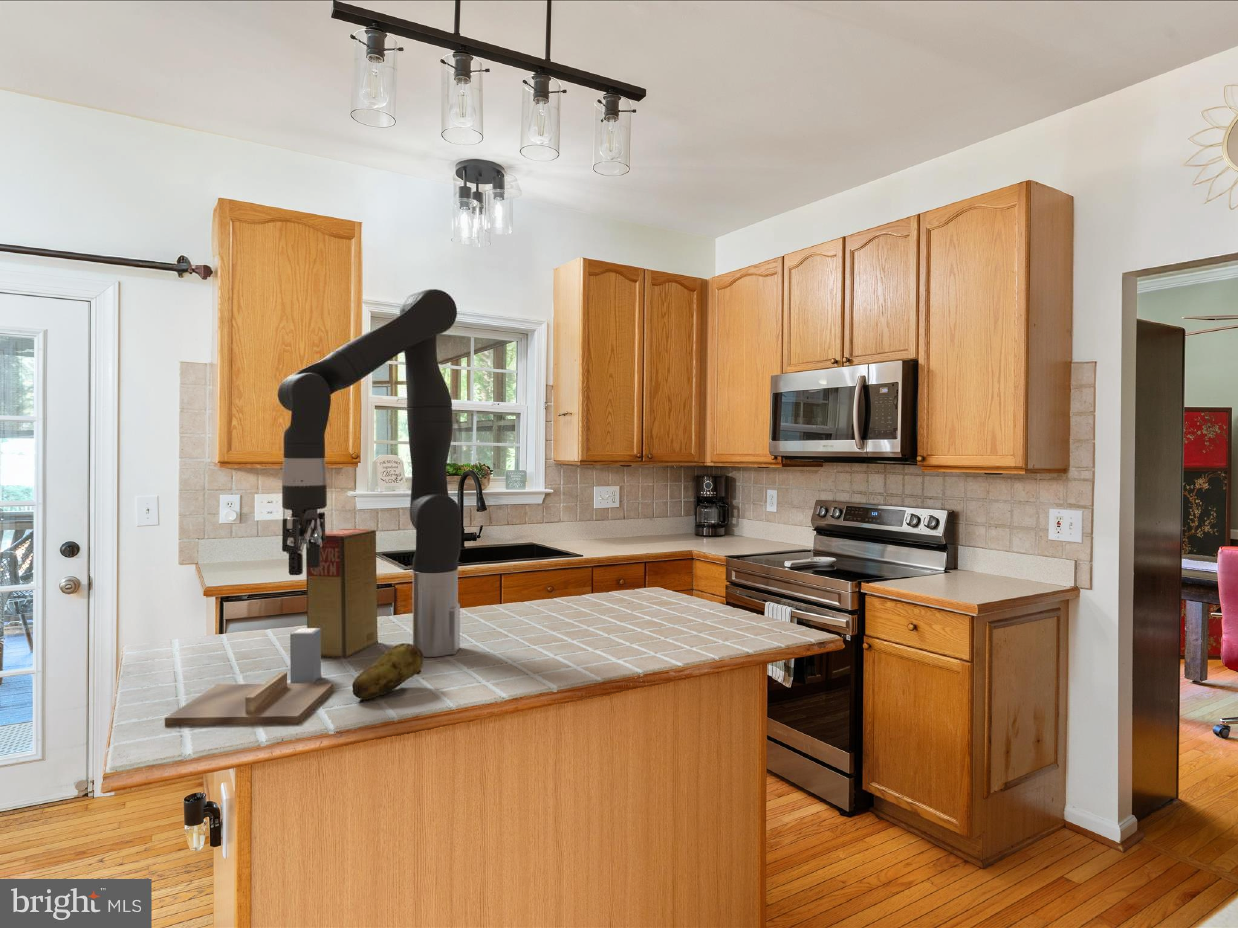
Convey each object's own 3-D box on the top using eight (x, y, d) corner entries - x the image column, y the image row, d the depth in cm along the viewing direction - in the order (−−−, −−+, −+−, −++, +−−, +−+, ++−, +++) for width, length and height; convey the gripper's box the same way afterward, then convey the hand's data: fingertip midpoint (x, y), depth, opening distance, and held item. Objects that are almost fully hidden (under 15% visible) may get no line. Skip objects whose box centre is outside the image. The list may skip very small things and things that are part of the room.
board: (333, 689, 128) (333, 668, 128) (297, 723, 112) (297, 699, 112) (217, 691, 128) (217, 670, 127) (164, 725, 112) (164, 701, 111)
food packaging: (341, 639, 163) (341, 527, 162) (380, 641, 161) (379, 528, 160) (304, 655, 150) (303, 534, 149) (345, 658, 148) (345, 535, 147)
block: (320, 676, 136) (320, 627, 136) (313, 682, 132) (312, 632, 132) (299, 676, 136) (298, 627, 136) (290, 683, 132) (290, 633, 132)
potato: (343, 693, 127) (343, 647, 127) (416, 680, 134) (416, 636, 134) (356, 707, 120) (356, 658, 120) (432, 692, 127) (432, 647, 127)
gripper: (310, 484, 127) (311, 577, 127) (338, 481, 141) (339, 564, 141) (266, 484, 126) (267, 577, 127) (299, 481, 141) (299, 565, 141)
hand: (305, 570), depth 134 cm, fingers open, 8 cm apart
